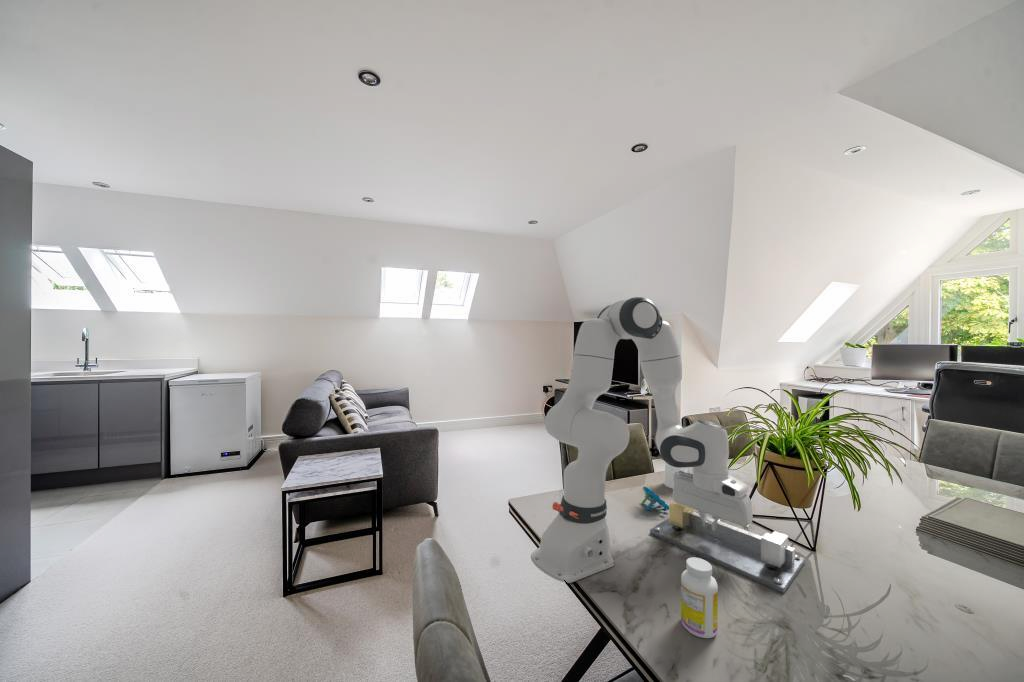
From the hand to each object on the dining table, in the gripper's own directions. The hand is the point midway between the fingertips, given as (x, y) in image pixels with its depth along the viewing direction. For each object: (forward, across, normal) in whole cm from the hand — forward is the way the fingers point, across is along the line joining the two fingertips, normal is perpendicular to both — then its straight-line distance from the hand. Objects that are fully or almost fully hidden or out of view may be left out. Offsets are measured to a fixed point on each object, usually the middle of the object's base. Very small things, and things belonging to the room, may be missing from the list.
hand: (709, 528), depth 104 cm
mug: (+5, -25, +33) cm, 42 cm away
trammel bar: (+4, +2, +2) cm, 5 cm away
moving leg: (+3, -9, +2) cm, 10 cm away
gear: (+5, -22, +9) cm, 24 cm away
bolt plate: (+5, +2, +2) cm, 6 cm away
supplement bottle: (+5, +11, -32) cm, 34 cm away
